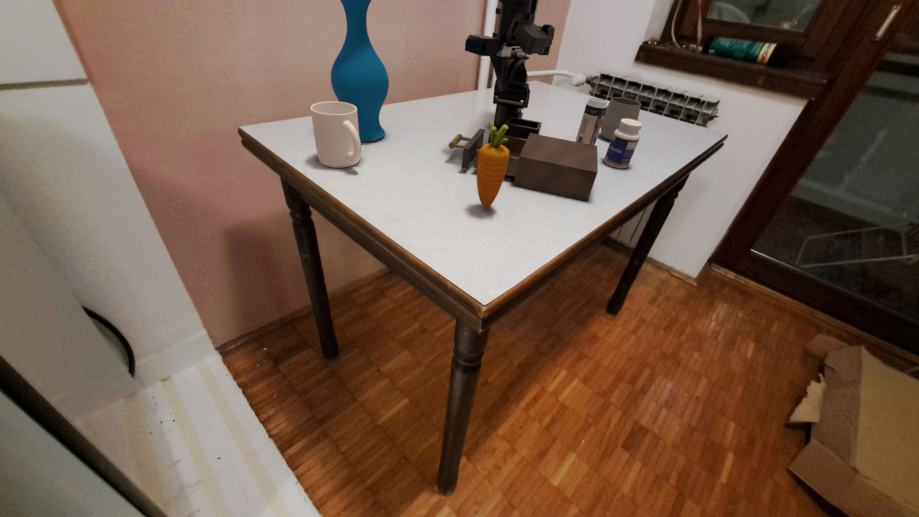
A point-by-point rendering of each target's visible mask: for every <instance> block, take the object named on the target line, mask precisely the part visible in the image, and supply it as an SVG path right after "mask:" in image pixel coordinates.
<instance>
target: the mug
mask: <svg viewBox="0 0 919 517" xmlns="http://www.w3.org/2000/svg"><path fill="white" fill-rule="evenodd" d="M310 116H311V122H312V129H313V135H314V142H315V149H316V155H317V159H318V161H319V163H321V164H322V165H323V166H326V167H329V168H333V169H345V168H350V167H353V166H355V165H357V164H359V162H360V160H361V155H362V143H361V142H360V138H359V128H358V114H357V107H356V106H354V105H352V104H349V103H345V102H339V101H336V100H335V101H333V100H331V101H330V100H329V101H328V100H327V101H319V102H316V103H313V104H311V106H310Z"/></svg>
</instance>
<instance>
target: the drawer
mask: <svg viewBox="0 0 919 517" xmlns="http://www.w3.org/2000/svg"><path fill="white" fill-rule="evenodd" d="M485 131H486V129H485V128H479V129H478V130H477V131H476V132H475V134H474V135H473V136H472V137H467V136H466V137H465V136H463V135H462V134H461V133H457V135H456V136H455V137H454V138H453V139H452V140H451V141H450V142H449V143H448V148H449V149H451V150H455V149H461V150H462V158H461V169H464V170H468V168H469V167H470V166H471V164H472V163H473V161H474V166H473V167H474V169H477V167H478V157H479V151H480V149H481V148H482V146H483V145H484V139H485ZM490 134H491V131H489V133H488V137H487V143H491V135H490ZM496 135H497V133H495V138H496ZM503 138H507V139H508V140H507V141H506V142H504V143H503V144H502V145H503V146H505V147H506V148H508V150H509V153H510V154H509V160H508V164H507V169H506V173H505V176H509V177H514V178H515V175H516V170H517V165H518V160H519V156H520V154H521V151H522V149H523V147H524V145H525V143H526V141H527V139H522V138H517V137H512V136H507V135H503V136H502V137H501V140H502V139H503ZM461 141H463V142H464V141H465V142H466V144H465V145H462V144H459V143H461Z"/></svg>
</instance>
